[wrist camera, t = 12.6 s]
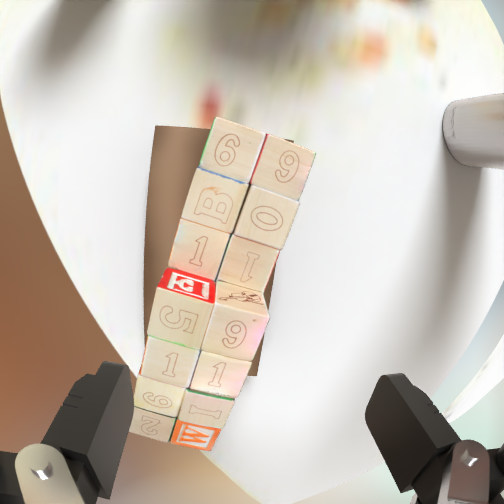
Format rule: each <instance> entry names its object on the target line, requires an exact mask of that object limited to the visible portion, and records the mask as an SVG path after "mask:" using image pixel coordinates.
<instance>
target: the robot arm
mask: <svg viewBox="0 0 504 504" xmlns="http://www.w3.org/2000/svg"><path fill="white" fill-rule="evenodd" d="M443 131H444V137H445V141H446V144H447V146H448V148H449V151H450V152H451V154H452V155H453V157H454V158H455V159H456V160H457V161H458V162H459V163H461V164H463V165H465V166H476V167H486V168H495V169H504V93H501V94H494V95H487V96H480V97H474V98H468V99H462V100H457V101H454V102H452V103H451V104H449V105H448V107H447V109H446V110H445V114H444V118H443ZM133 414H134V398H133V392H132V386H131V378H130V371H129V367H128V365H125V364H119V363H113V362H108V361H104V362H103V363H102V364H101V366H100V368H99V369H98V371H97V373H96V375H91V374H86V375H85V376H84V377H82V378H81V379H79V380H78V381H76V382H75V384H74V385H73V387H72V389H71V390H70V392H69V394H68V396H67V397H66V399H65V400H64V402H63V406H61V407H60V409H59V411H58V413H57V415H56V416H55V418H54V420H53V422H52V424H51V425H50V427H49V429H48V431H47V433H46V435H45V436H44V438H43V440H42V442H41V443H40V444H33V445H29V446H27V447H25V448H23V449H22V450H21V451H20V452H19V453H10V452H4V451H0V504H96V501H97V497H102V498H105V499H110V496H111V492H112V488H113V484H114V481H115V477H116V473H117V470H118V466H119V462H120V459H121V456H122V452H123V449H124V445H125V442H126V438H127V435H128V432H129V429H130V426H131V422H132V419H133ZM365 420H366V424H367V426H368V428H369V430H370V432H371V434H372V436H373V438H374V440H375V442H376V444H377V446H378V448H379V450H380V452H381V454H382V456H383V458H384V460H385V462H386V464H387V466H388V468H389V470H390V472H391V474H392V476H393V478H394V480H395V482H396V484H397V486H398V489H399V491H400V493H403V492H406V491H409V490H412V489H414V490H415V492H416V493H415V494H414V496H413V497H412V499H411V502H410V504H504V499H503V498H502V496H501V494H500V493H501V492H502V491H503V490H504V444H503V445H502V447H501V448H497V449H489V450H486V448H485V447H484V446H483V445H482V444H480V443H478V442H476V441H473V440H461V439H460V438H459V437H458V435H457V434H456V432H455V431H454V430H453V429H452V427H451V426H450V425H449V423H448V422H447V421H446V419H445V418H444V417H443V415H442V414H441V413H439V410H438V409H437V407H436V406H435V405H433V402H432V401H431V400H430V398H429V397H428V396H427V395H426V393H424V392H423V391H421V390H420V389H419V388H417V387H416V386H413V385H412V383H411V382H410V381H409V379H408V378H407V377H406V376H405V375H404V374H402V373H398V374H389V375H382V376H381V377H380V378H379V380H378V382H377V384H376V387H375V389H374V391H373V394H372V396H371V398H370V401H369V403H368V405H367V408H366V411H365Z"/></svg>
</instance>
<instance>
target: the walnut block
mask: <svg viewBox="0 0 504 504" xmlns="http://www.w3.org/2000/svg"><path fill="white" fill-rule="evenodd" d="M210 130H211V129H200V128H188V127H174V126H155V132H154V140H153V148H152V156H151V165H150V174H149V185H148V196H147V210H146V226H145V247H144V335H145V347H146V342H147V337H148V334H147V330H148V325H149V321H150V316H151V311H152V306H153V302H154V297H155V293H156V288H157V286H158V283H159V281H160V279H161V277H162V275H163V274H164V271H165V269H166V268H167V267H168V262H169V258H170V254H171V250H172V246H173V242H174V238H175V235H176V231H177V228H178V224H179V221H180V219H181V216H182V212H183V208H184V205H185V202H186V199H187V196H188V193H189V189H190V186H191V183H192V180H193V177H194V174H195V171H196V169H197V167H198V166H199V162H200V159H201V155H202V152H203V149H204V147H205V144H206V141H207V138H208V135H209V132H210ZM284 140H286V139H284ZM286 141H289V142H292V143H293V142H294V141H292V140H286ZM275 266H276V263H275ZM275 266H274V268H273V271H272V274H271V276H270V279H269V281H268V284H267V286H266V289H265V291H264V293H263V295H264V298H265V302H266V305H267V309H269V303H270V297H271V291H272V285H273V278H274V272H275ZM263 338H264V334H263V337H262V339H261V342H260V344H259V347H258V349H257V351H256V354H255V356H254V358H253V360H252V363H251V367H250V370H249V372H248V375H247V376H257V372H258V366H259V361H260V355H261V350H262V344H263Z"/></svg>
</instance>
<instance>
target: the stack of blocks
mask: <svg viewBox="0 0 504 504" xmlns="http://www.w3.org/2000/svg"><path fill="white" fill-rule="evenodd" d="M315 156H316V152H314V151H311V150H309V149H306V148H304V147H302V146H299V145H297V144H294V143H292V142H289V141H286V140H284V139H282V138H279V137H276V136H274V135H271V134H266V133H263V132H260V131H258V130H255V129H252V128H250V127H247V126H244V125H241V124H238V123H235V122H232V121H228V120H226V119H223V118H219V117H215V119H214V121H213V124H212V127H211V130H210V132H209V135H208V138H207V141H206V144H205V147H204V149H203V152H202V155H201V159H200V162H199V166H198V167H197V169H196V171H195V174H194V177H193V180H192V183H191V186H190V189H189V193H188V196H187V199H186V202H185V205H184V208H183V212H182V216H181V219H180V221H179V224H178V228H177V231H176V235H175V238H174V242H173V246H172V250H171V254H170V258H169V262H168V267H167V268H166V269H165V271H164V274H163V275H162V277H161V279H160V281H159V283H158V286H157V288H156V293H155V297H154V302H153V306H152V311H151V316H150V321H149V325H148V330H147V334H148V337H147V342H146V347H145V352H144V357H143V361H142V364H141V367H140V370H139V373H138V377H137V383H136V389H135V395H134V414H133V419H132V422H131V426H130V429H129V432H132V433H135V434H139V435H142V436H145V437H149V438H152V439H156V440H159V441H162V442H169V441H170V442H171V443H173V444H176V445H180V446H185V447H189V448H195V449H200V450H206V451H211V450H212V448H213V446H214V444H215V442H216V439H217V438H218V435H219V433H220V431H221V429H222V428H223V427H224V425H225V423H226V421H227V418H228V416H229V414H230V412H231V409H232V407H233V405H234V402H235V398H236V397H238V396H239V393H240V391H241V389H242V386H243V384H244V382H245V379H246V377H247V375H248V372H249V370H250V367H251V363H252V360H253V358H254V356H255V354H256V351H257V349H258V347H259V344H260V342H261V339H262V337H263V334H264V332H265V329H266V327H267V324H268V322H269V319H270V316H269V312H268V309H267V305H266V302H265V298H264V295H263V293H264V291H265V289H266V286H267V284H268V281H269V279H270V276H271V274H272V271H273V268H274V266H275V263H276V261H277V258H278V256H279V253H280V250H282V249H283V247H284V244H285V241H286V239H287V236H288V234H289V231H290V229H291V226H292V224H293V221H294V218H295V215H296V213H297V210H298V207H299V205H300V201H299V198H300V196H301V194H302V191H303V189H304V186H305V183H306V180H307V178H308V175H309V172H310V169H311V167H312V164H313V161H314V158H315Z"/></svg>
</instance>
